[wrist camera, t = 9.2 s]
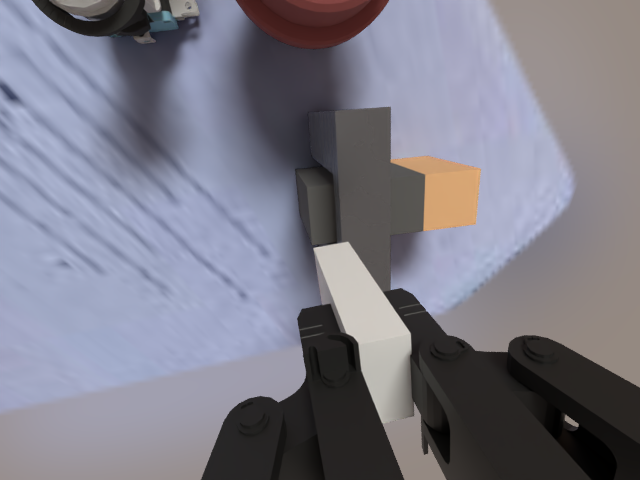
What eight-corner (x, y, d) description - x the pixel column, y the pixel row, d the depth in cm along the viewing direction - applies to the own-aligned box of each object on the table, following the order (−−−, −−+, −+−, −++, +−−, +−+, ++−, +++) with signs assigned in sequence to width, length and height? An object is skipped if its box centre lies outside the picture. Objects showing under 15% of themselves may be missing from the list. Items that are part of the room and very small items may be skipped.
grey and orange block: (299, 213, 31) (312, 245, 23) (295, 169, 29) (307, 187, 22) (426, 199, 32) (475, 224, 25) (427, 155, 31) (480, 168, 23)
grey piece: (319, 258, 32) (346, 324, 22) (307, 112, 28) (334, 111, 18) (350, 254, 33) (390, 317, 23) (343, 109, 28) (390, 106, 18)
